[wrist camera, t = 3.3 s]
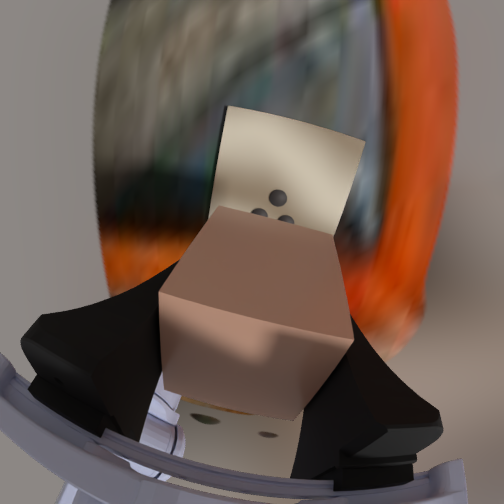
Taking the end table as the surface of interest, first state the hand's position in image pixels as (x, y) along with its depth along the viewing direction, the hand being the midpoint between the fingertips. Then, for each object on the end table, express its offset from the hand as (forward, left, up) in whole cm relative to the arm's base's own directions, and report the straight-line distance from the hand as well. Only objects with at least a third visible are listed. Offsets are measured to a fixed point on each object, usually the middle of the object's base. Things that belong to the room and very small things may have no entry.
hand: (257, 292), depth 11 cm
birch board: (0, 0, -9) cm, 9 cm away
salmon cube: (0, 0, -2) cm, 2 cm away
